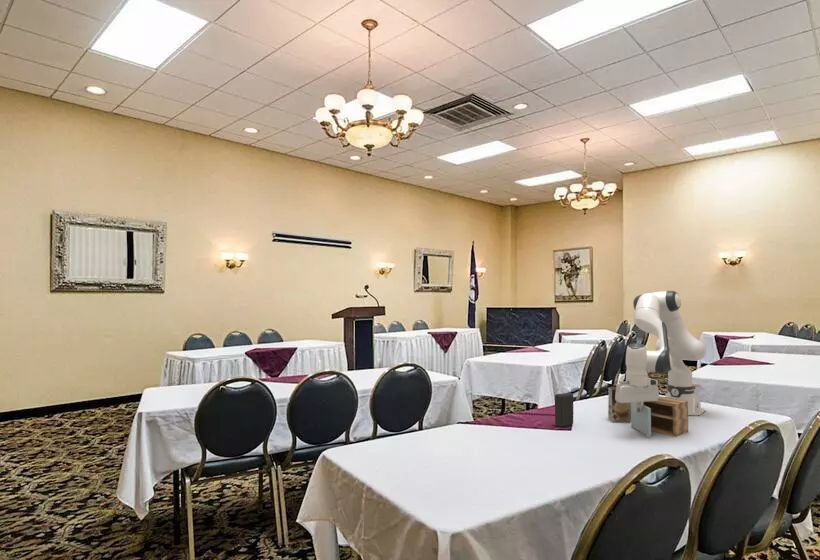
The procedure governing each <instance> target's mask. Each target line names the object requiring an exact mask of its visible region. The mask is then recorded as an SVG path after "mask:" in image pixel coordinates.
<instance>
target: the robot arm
mask: <svg viewBox="0 0 820 560" xmlns="http://www.w3.org/2000/svg"><path fill="white" fill-rule="evenodd" d="M681 302H682V300H681V296H680V294H679V293H678V292H676V291H675V290H667V291H666V290H665V291H654V292H649V293H648V292H647V293H646V292H645V293H643V294H639V295H637V296H635V298H634V299H633V309H634V315H633V316H634V317H633V319H634V321H633V322H634V324H635V325H636V327H637V328H638V329H640V330H641V331H643V332H644V333H648V334H650V335H653V336H655V337H656V338H658V339H657V341H656V343H655V347H654V348H655V350H647V347H646V345H645V344H642V343H638V342H637V343H635V342H634V343H630V344H628V345H627V347H626V351H625V356H624V357H625V366H626V371H625V381H622V380H621V381H619V382H617V383H616V384H615V387H616V393H615V400H616V401H617V402H619V403H631V405H632V407H633V412H641V408H642V406H643V402H649V401H657V400H658V399H659V396H660V391H659V390H660V389H659V386H658V384H659V382H658V380H657V379H654V378H651V377H649V375H648V373H656V374H662V375H665V374H667V377H668V378H667V379H668V384H667V387H666V388H667V393H665V396H664V397H667V398H673V399H679V400H685V401H688V416H698V415H699V416H701V415H702V414H703V412H704V411H705V412H707V411H706V408H704V407H701V399H700V398H699V397H698V396H697V395H696V394H695V390H697V387H696V385H693V372H692V370H691V369H690V368H689V367H688V366H687V365H686V364H685V363H684V361H683V360H686V361H699V360H700V361H701V360H703V358H704V357H705V356H706V354H707V349H706V346H705V344H704V342H702V341H700V340H699V339H698V338H696V337H694V336H693V334H692V333H690V331H688V329H687V328H686V326H685V324H684V322H683V319H682V315H681V314H680V313H681V312H680V310H679V309H680V308H681V306H682V305H681V304H682V303H681ZM636 402H638V406H637V407H636ZM705 412H704V413H705Z"/></svg>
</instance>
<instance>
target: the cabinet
mask: <svg viewBox="0 0 820 560" xmlns="http://www.w3.org/2000/svg"><path fill="white" fill-rule="evenodd" d="M643 405H645V406H647V407H649V408H651V432H654V433H658V434H662V435H667V436H671V437H674V438H675V437H678V436H682V435H685V434H686V433H689V415H688V401H685V400H679V399H673V398H667V397H665V396H661V395H659V399H658V400H657V401H649V402H643ZM631 427H632V428H634V427H633V426H631Z"/></svg>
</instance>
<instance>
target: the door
mask: <svg viewBox="0 0 820 560" xmlns="http://www.w3.org/2000/svg"><path fill="white" fill-rule="evenodd" d="M630 404H631V403H630ZM637 406H638V402H636V407H637ZM630 426H631V427H632V426H633V427H632V428H635V429H636V430H638V431H639V432H641V433H642V434H644V435H645V436H647V437H651V436H652V431H651V408H649V407H647V406H645V405H643V406H642V408H641V412H633V407H632V405H631V423H630Z"/></svg>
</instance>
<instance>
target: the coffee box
mask: <svg viewBox="0 0 820 560" xmlns="http://www.w3.org/2000/svg"><path fill="white" fill-rule="evenodd" d="M615 393H616V386H608V400H607V401H608V406H607V407H608V412H607V413H608V416H607V417H608V418H607V419H608V420H609V421H610V422H611V423H625V424H627V423H630V424H631V404H630V403H619V402H617V401H616V400H615Z"/></svg>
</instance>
